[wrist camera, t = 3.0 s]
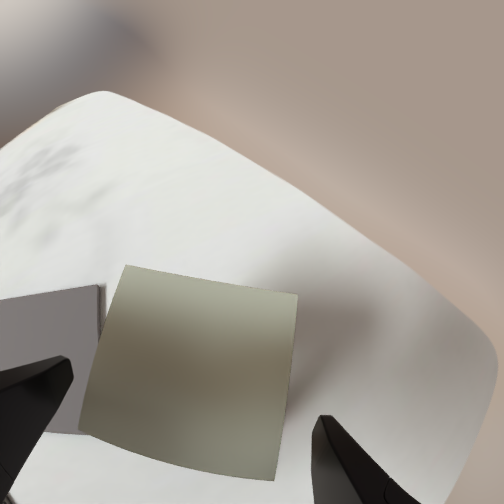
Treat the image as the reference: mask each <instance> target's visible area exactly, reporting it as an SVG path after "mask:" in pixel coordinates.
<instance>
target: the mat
mask: <svg viewBox="0 0 504 504" xmlns="http://www.w3.org/2000/svg"><path fill="white" fill-rule="evenodd" d="M99 339H100V287H99V286H98V285H91V286H85V287H79V288H73V289H66V290H60V291H54V292H48V293H41V294H35V295H29V296H22V297H16V298H10V299H3V300H0V371H3V370H7V369H11V368H14V367H18V366H22V365H26V364H30V363H33V362H37V361H41V360H44V359H48V358H51V357H55V356H59V355H63V356H65V357H67V358H69V359H70V361H71V364H72V369H73V374H74V379H73V382H72V384H71V386H70V388H69V390H68V391H67V393H66V395H65V397H64V399H63V401H62V403H61V405H60V407H59V409H58V410H57V412H56V414H55V415H54V417H53V418H52V420H51V421H50V423H49V424H48V426H47V427H46V429H45V431H44V432H52V433H63V434H78V435H89V434H86V433H84V432H82V431H80V430H78V424H79V419H80V414H81V409H82V404H83V400H84V395H85V391H86V387H87V383H88V379H89V375H90V371H91V367H92V364H93V360H94V356H95V353H96V350H97V346H98V343H99Z"/></svg>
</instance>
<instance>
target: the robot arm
mask: <svg viewBox="0 0 504 504" xmlns="http://www.w3.org/2000/svg"><path fill="white" fill-rule="evenodd" d="M73 379H74V374H73V369H72V364H71V361H70V359H69V358H67V357H65V356H63V355H59V356H55V357H51V358H48V359H44V360H41V361H37V362H33V363H30V364H26V365H22V366H18V367H14V368H11V369H7V370H3V371H0V504H3V502H4V500H5V498H6V496H7V494H8V492H9V490H10V489H11V487H12V485H13V483H14V481H15V479H16V477H17V476H18V474H19V472H20V470H21V469H22V467H23V465H24V463H25V462H26V460H27V458H28V457H29V455H30V453H31V452H32V450H33V448H34V447H35V445H36V443H37V442H38V440H39V439H40V437H41V435H42V434H43V432H44V431H45V429H46V427H47V426H48V424H49V423H50V421H51V420H52V418H53V417H54V415H55V414H56V412H57V410H58V409H59V407H60V405H61V403H62V401H63V399H64V397H65V395H66V393H67V391H68V390H69V388H70V386H71V384H72V382H73ZM311 476H312V485H313V495H314V504H421V503H420V502H418V501H417V500H416V499H414V498H413V497H412V496H410V495H409V494H408V493H407V492H406V491H405V490H403V489H402V488H401V487H400V486H399V485H398V484H397V483H396V482H395V481H394V480H393V479H392V478H390V476H389V475H388V474H387V473H386V472H385V471H384V470H383V469H382V468H381V467H380V466H379V465H378V464H377V463H376V462H375V461H374V460H373V459H372V458H371V457H370V456H369V455H368V454H367V453H366V452H365V451H364V449H363V448H362V447H361V446H360V445H359V444H358V443H357V442H356V441H355V440H354V439H353V438H352V437H351V436H350V435H349V433H348V432H347V431H346V430H345V429H344V428H343V427H342V426H341V425H340V424H339V423H338V422H337V420H336V419H335V418H334V417H333V416H331V415H320V416H319V417H318V420H317V422H316V424H315V427H314V429H313V432H312V455H311Z"/></svg>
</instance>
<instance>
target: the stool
mask: <svg viewBox="0 0 504 504" xmlns="http://www.w3.org/2000/svg"><path fill="white" fill-rule="evenodd" d="M297 302H298V294H291V293H284V292H278V291H271V290H265V289H258V288H252V287H246V286H240V285H234V284H228V283H222V282H216V281H210V280H205V279H199V278H193V277H188V276H182V275H177V274H172V273H166V272H161V271H156V270H151V269H146V268H140V267H135V266H130V265H125V268H124V270H123V273H122V276H121V278H120V281H119V283H118V286H117V289H116V292H115V294H114V297H113V300H112V303H111V306H110V309H109V311H108V314H107V317H106V320H105V324H104V327H103V330H102V333H101V336H100V339H99V343H98V346H97V350H96V353H95V356H94V360H93V364H92V367H91V371H90V375H89V379H88V383H87V387H86V391H85V395H84V400H83V404H82V409H81V414H80V419H79V424H78V430H80V431H82V432H84V433H86V434H89V435H91V436H93V437H95V438H98V439H100V440H102V441H105V442H107V443H110V444H112V445H115V446H117V447H120V448H123V449H125V450H128V451H131V452H134V453H137V454H140V455H143V456H146V457H149V458H152V459H155V460H159V461H162V462H166V463H169V464H173V465H177V466H181V467H185V468H189V469H194V470H198V471H203V472H208V473H214V474H219V475H225V476H232V477H239V478H247V479H255V480H266V481H274V479H275V474H276V468H277V462H278V456H279V450H280V444H281V437H282V431H283V424H284V417H285V410H286V403H287V395H288V387H289V379H290V371H291V362H292V353H293V344H294V334H295V324H296V313H297Z"/></svg>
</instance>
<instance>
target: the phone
mask: <svg viewBox="0 0 504 504" xmlns="http://www.w3.org/2000/svg"><path fill="white" fill-rule="evenodd" d="M3 504H12V503H11V501H10V500H9V498H8V497H7V496H6V498H5V500H4V502H3Z"/></svg>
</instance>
